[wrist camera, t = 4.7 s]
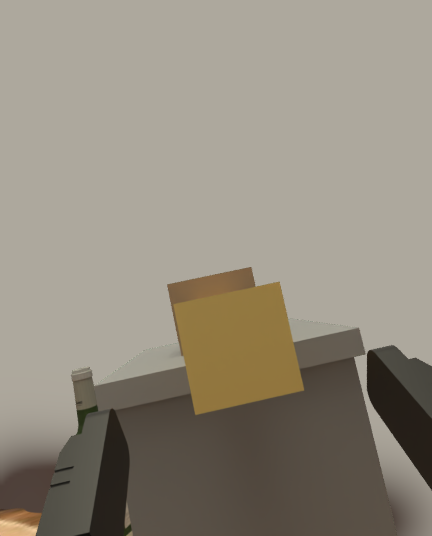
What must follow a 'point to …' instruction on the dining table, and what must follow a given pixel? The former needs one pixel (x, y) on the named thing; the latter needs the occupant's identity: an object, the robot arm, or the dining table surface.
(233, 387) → the peg
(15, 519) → the dining table surface
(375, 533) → the stand
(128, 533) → the wine bottle
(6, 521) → the dining table surface
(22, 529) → the dining table surface
